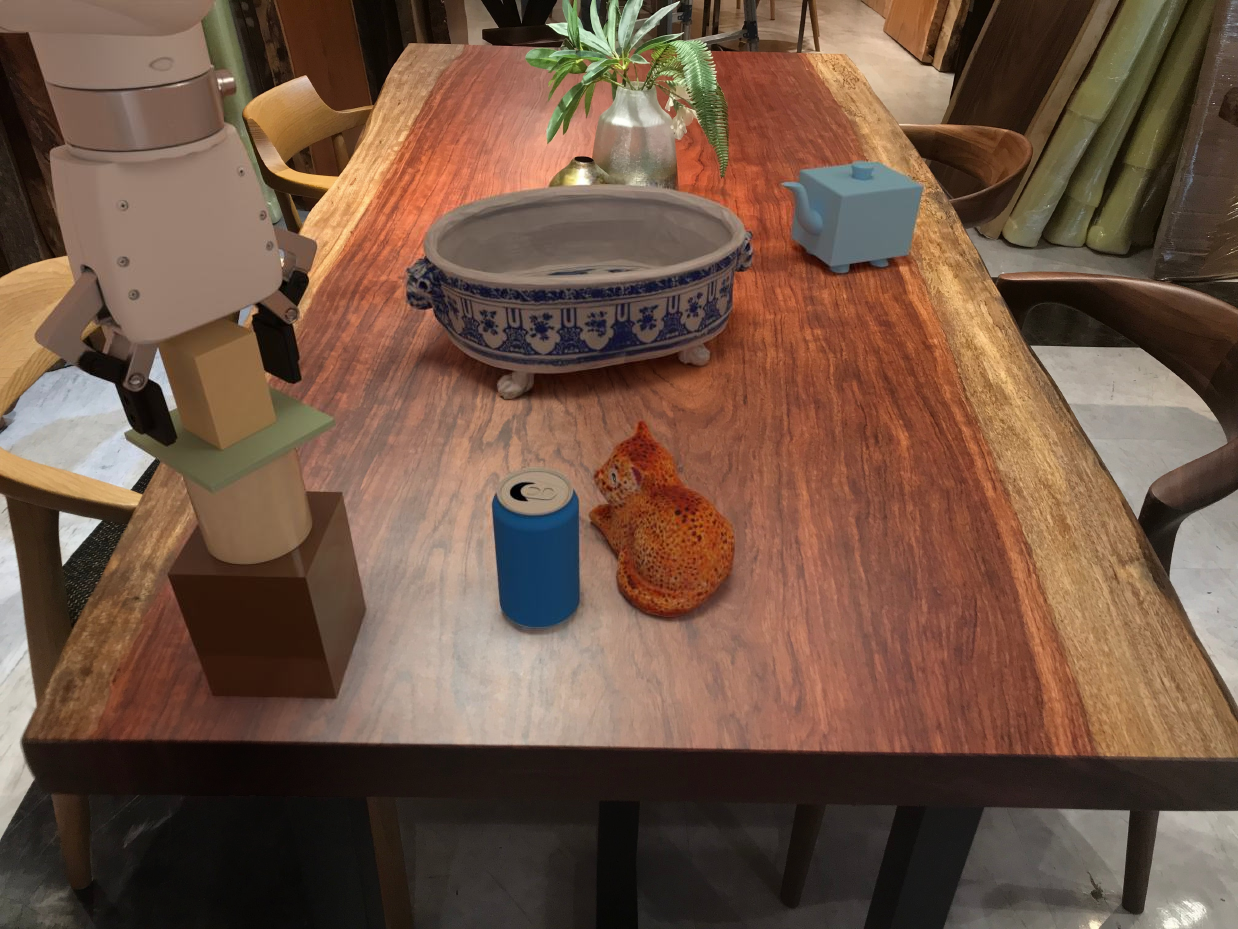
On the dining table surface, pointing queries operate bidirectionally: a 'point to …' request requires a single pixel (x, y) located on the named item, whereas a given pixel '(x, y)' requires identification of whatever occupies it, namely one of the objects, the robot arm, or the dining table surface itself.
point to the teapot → (854, 213)
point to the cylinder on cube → (270, 585)
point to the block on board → (242, 453)
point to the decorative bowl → (580, 277)
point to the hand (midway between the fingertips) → (223, 403)
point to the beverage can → (537, 546)
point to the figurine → (660, 529)
